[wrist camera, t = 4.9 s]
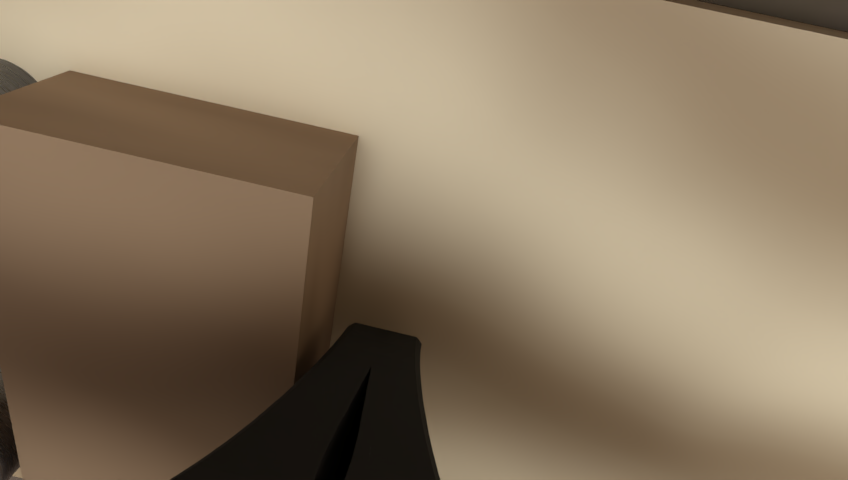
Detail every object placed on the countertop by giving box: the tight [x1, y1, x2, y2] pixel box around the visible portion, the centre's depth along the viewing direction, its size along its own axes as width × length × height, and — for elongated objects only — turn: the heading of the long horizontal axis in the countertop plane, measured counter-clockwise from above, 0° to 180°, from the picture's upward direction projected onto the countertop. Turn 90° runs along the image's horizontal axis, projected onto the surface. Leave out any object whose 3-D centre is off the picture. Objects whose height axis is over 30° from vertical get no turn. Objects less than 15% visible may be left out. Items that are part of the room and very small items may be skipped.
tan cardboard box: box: [0, 70, 359, 480], centre depth 11 cm, size 8×5×2 cm, turn 169°
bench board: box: [0, 0, 848, 480], centre depth 13 cm, size 14×24×1 cm, turn 79°
